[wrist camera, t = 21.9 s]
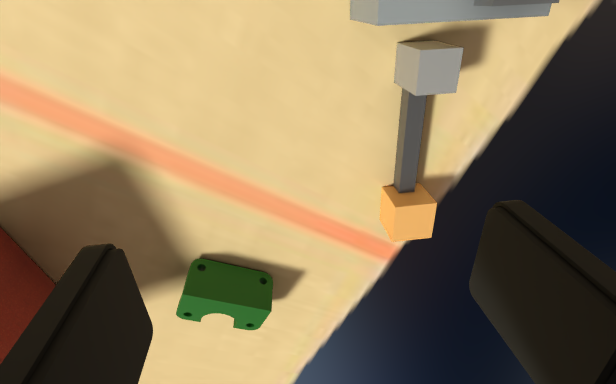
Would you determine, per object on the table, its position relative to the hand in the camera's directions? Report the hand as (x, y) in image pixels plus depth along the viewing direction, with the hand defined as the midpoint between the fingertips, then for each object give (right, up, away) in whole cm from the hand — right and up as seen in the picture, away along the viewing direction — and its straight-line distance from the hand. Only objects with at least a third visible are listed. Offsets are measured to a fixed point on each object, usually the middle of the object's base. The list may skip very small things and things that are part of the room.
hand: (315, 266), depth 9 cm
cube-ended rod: (+12, +8, +32) cm, 35 cm away
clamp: (-12, -11, +40) cm, 43 cm away
